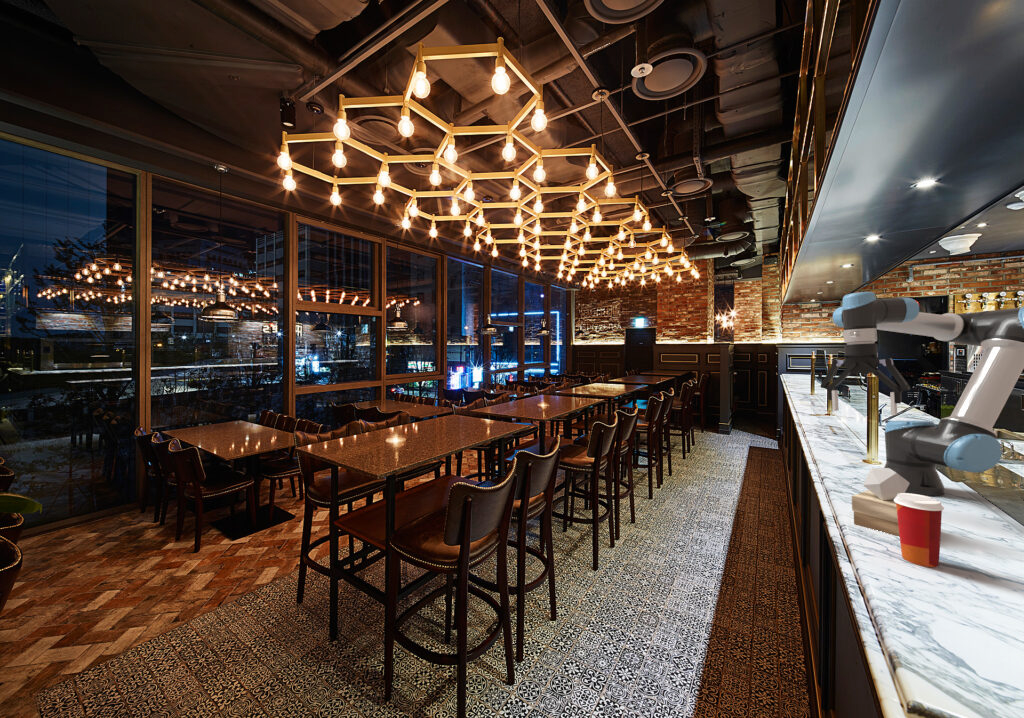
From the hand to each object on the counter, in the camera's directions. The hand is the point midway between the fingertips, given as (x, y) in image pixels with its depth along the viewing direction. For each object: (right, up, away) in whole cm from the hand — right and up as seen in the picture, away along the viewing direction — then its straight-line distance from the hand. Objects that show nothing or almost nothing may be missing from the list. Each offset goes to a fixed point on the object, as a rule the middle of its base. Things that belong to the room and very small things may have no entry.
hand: (863, 412), depth 117 cm
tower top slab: (-7, -25, -15) cm, 30 cm away
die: (-7, -21, -15) cm, 27 cm away
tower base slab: (-7, -29, -15) cm, 33 cm away
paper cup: (-17, -29, -32) cm, 46 cm away
